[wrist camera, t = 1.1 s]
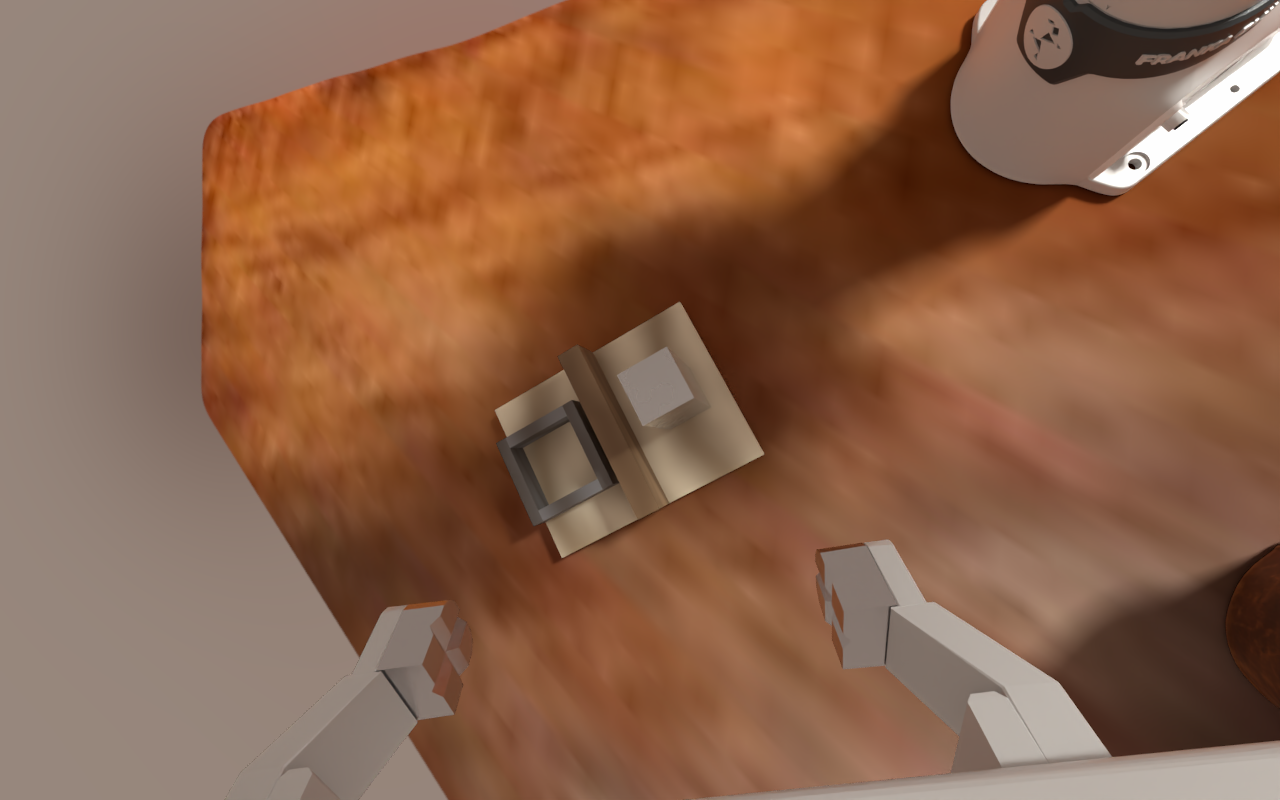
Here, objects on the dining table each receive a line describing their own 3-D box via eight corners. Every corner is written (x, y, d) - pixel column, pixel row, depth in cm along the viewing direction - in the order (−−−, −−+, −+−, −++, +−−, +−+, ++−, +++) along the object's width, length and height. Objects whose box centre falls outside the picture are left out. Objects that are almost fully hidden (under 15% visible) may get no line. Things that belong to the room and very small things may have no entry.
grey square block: (689, 366, 46) (666, 346, 36) (711, 407, 45) (694, 397, 35) (649, 389, 46) (616, 375, 37) (670, 429, 46) (642, 426, 36)
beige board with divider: (682, 305, 48) (671, 288, 43) (764, 454, 45) (763, 455, 40) (502, 411, 51) (471, 407, 46) (568, 554, 49) (543, 568, 43)
